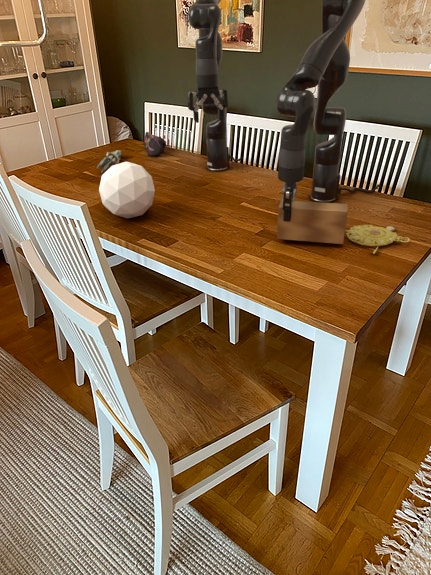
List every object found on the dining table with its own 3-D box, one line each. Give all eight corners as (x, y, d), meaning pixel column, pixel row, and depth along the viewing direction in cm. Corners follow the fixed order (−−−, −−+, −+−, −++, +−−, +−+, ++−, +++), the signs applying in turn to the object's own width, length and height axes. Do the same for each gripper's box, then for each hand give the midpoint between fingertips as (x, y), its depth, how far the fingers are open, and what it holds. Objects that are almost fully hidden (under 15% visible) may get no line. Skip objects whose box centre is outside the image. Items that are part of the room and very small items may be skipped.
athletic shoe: (152, 146, 217) (175, 145, 222) (140, 122, 229) (162, 121, 233) (150, 166, 226) (172, 164, 230) (139, 141, 238) (160, 140, 242)
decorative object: (355, 216, 152) (417, 225, 142) (354, 223, 153) (416, 232, 143) (334, 239, 137) (402, 251, 127) (334, 247, 138) (401, 259, 128)
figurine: (101, 154, 197) (119, 141, 223) (91, 167, 200) (110, 152, 227) (114, 165, 199) (130, 151, 225) (103, 178, 203) (121, 162, 229)
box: (343, 235, 140) (347, 203, 134) (343, 244, 135) (347, 211, 129) (279, 230, 144) (280, 199, 139) (276, 238, 139) (278, 207, 134)
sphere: (119, 231, 167) (91, 184, 164) (165, 204, 169) (137, 158, 167) (116, 226, 148) (83, 173, 146) (167, 196, 150) (136, 144, 148)
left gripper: (189, 75, 148) (192, 125, 157) (229, 72, 151) (230, 121, 160) (184, 72, 154) (187, 121, 163) (223, 69, 157) (223, 117, 166)
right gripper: (281, 155, 135) (278, 207, 144) (275, 170, 124) (272, 225, 133) (306, 156, 134) (302, 208, 143) (302, 171, 122) (298, 227, 131)
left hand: (208, 121), depth 161 cm, fingers open, 8 cm apart
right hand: (288, 216), depth 138 cm, fingers closed on box, 6 cm apart
